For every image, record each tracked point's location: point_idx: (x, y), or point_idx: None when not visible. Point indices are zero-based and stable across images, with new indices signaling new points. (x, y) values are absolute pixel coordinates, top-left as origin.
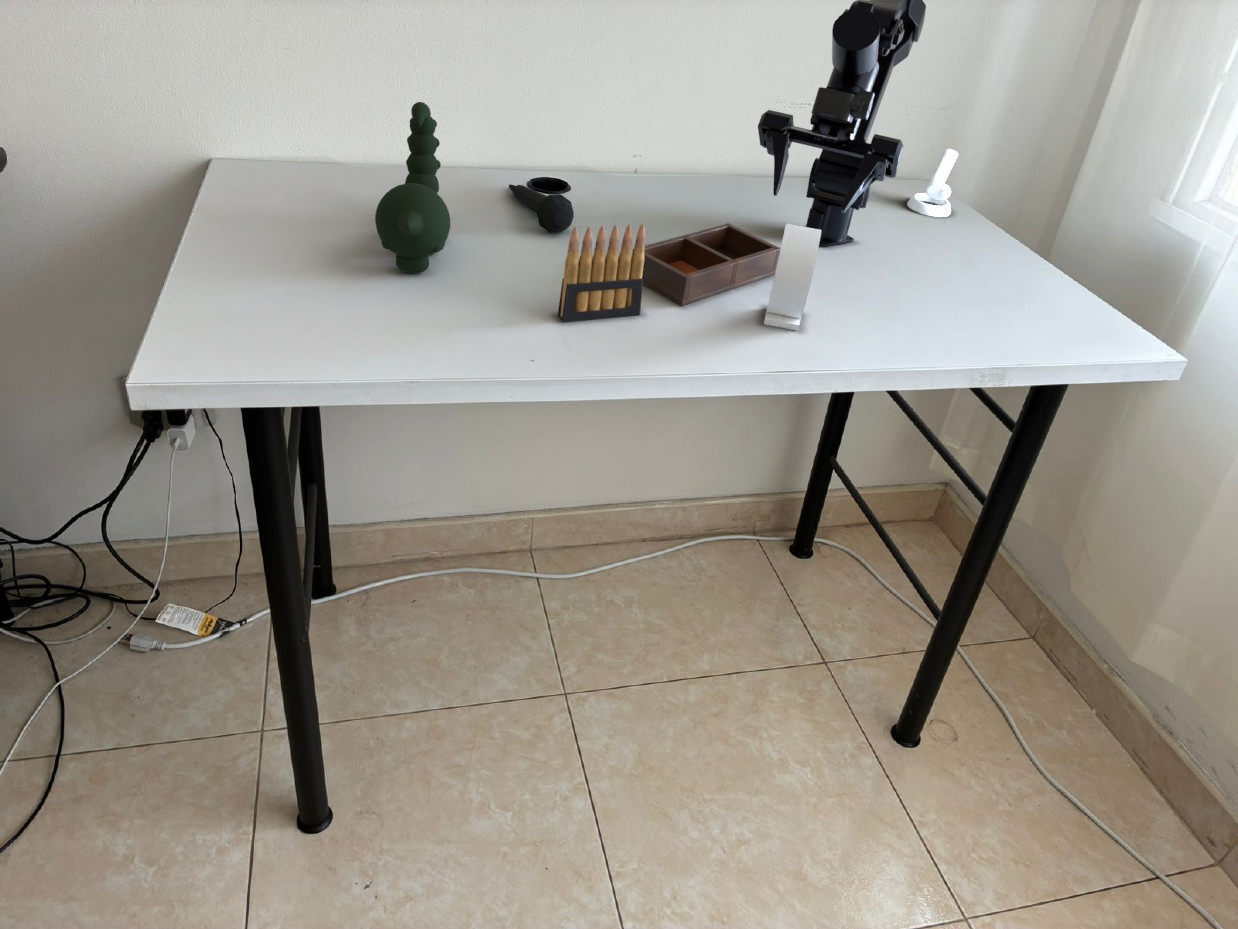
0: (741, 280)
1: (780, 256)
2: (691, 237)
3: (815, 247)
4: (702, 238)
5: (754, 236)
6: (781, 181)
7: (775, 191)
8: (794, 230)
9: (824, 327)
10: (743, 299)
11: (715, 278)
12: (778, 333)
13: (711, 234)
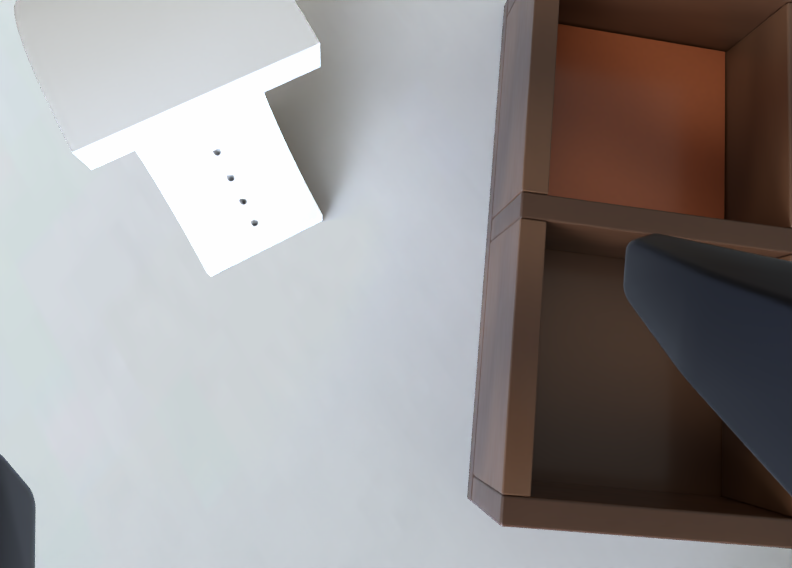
0: (489, 279)
1: None
2: None
3: (33, 8)
4: None
5: (656, 528)
6: (734, 405)
7: (640, 239)
8: (220, 6)
9: (94, 264)
10: (415, 211)
11: (514, 112)
12: None
13: None
